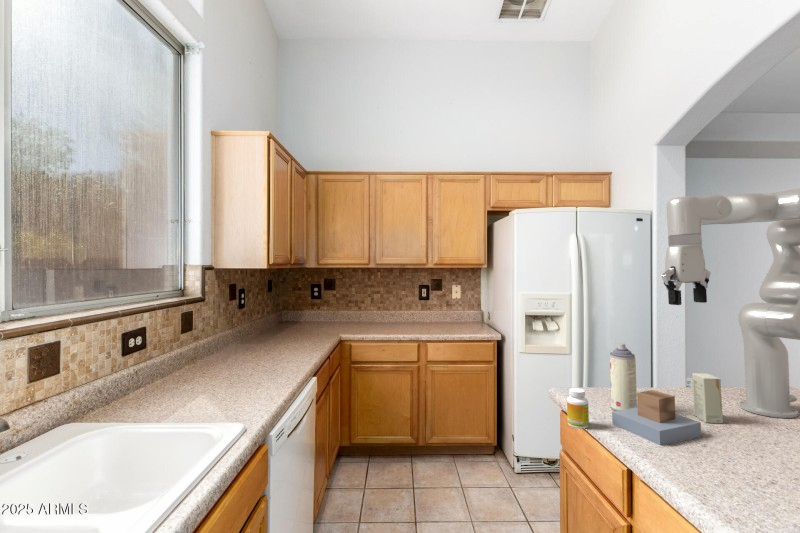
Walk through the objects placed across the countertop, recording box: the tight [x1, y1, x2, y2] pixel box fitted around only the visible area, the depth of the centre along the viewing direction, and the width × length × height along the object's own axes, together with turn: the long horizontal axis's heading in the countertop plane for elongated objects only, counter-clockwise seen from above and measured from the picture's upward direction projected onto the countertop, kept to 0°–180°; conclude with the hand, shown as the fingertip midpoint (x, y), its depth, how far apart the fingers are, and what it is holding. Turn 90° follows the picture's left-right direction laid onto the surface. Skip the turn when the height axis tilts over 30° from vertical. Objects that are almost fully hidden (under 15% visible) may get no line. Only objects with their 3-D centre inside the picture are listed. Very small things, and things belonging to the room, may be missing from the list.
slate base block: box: [611, 406, 702, 446], centre depth 104 cm, size 14×14×4 cm
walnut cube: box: [637, 389, 676, 423], centre depth 104 cm, size 6×6×6 cm
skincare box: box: [691, 372, 724, 424], centre depth 110 cm, size 6×4×12 cm
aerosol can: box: [609, 343, 638, 412], centre depth 119 cm, size 7×7×20 cm
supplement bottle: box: [566, 387, 590, 430], centre depth 108 cm, size 5×5×10 cm
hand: (687, 303), depth 108 cm, fingers open, 9 cm apart
